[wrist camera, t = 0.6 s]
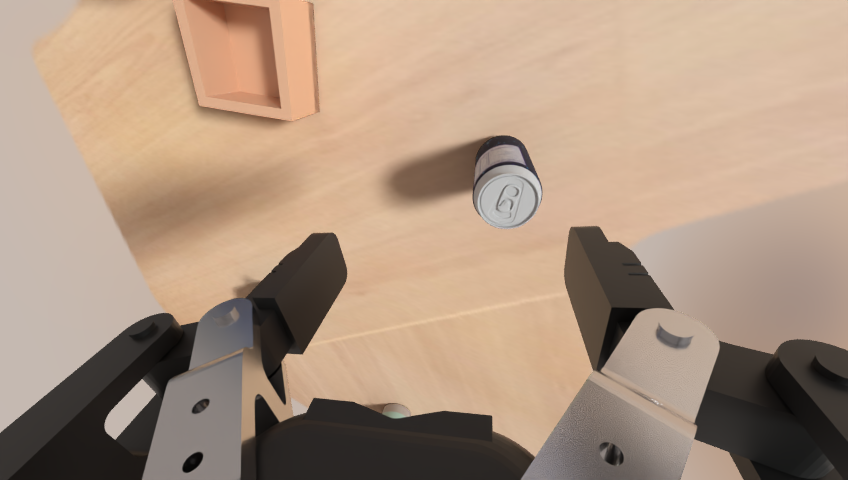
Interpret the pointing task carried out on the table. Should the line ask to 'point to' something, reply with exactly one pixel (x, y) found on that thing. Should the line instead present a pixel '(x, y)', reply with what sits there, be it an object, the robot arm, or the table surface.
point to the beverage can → (505, 183)
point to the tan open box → (252, 55)
